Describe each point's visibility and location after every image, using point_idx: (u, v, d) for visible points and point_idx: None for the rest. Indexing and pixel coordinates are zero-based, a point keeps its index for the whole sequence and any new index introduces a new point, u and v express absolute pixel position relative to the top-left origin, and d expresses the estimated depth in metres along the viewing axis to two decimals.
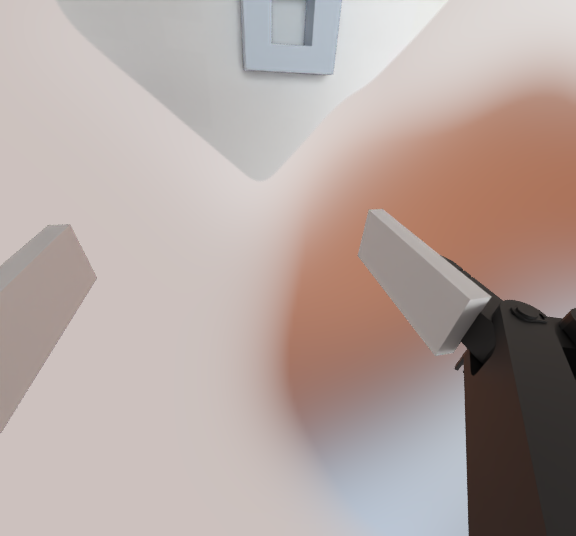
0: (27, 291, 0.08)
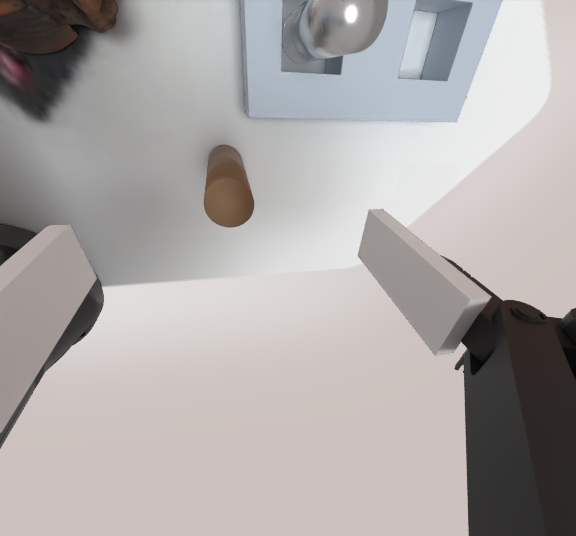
0: (27, 291, 0.08)
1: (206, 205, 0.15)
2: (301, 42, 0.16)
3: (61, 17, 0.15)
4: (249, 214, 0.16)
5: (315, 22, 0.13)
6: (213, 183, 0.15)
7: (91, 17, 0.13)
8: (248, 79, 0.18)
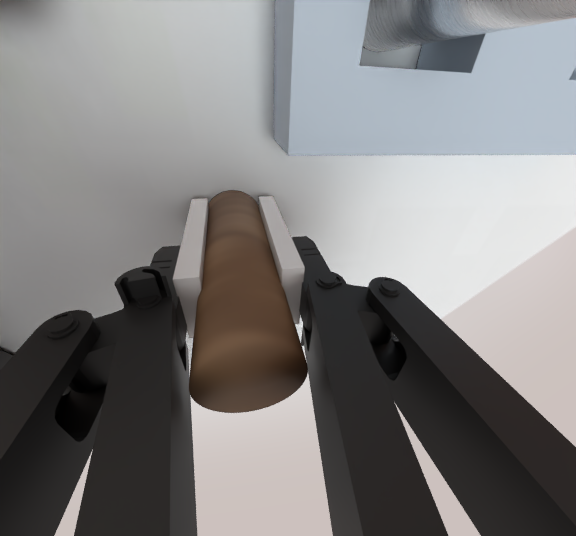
0: None
1: (195, 391, 0.06)
2: None
3: None
4: (294, 388, 0.07)
5: None
6: (212, 348, 0.06)
7: None
8: (292, 82, 0.08)
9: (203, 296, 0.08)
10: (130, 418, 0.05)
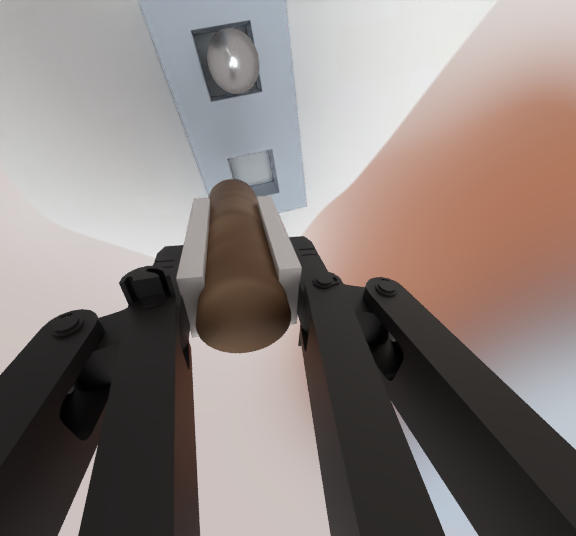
0: None
1: (200, 328, 0.08)
2: None
3: None
4: (281, 332, 0.09)
5: None
6: (214, 290, 0.07)
7: None
8: None
9: None
10: (134, 417, 0.05)
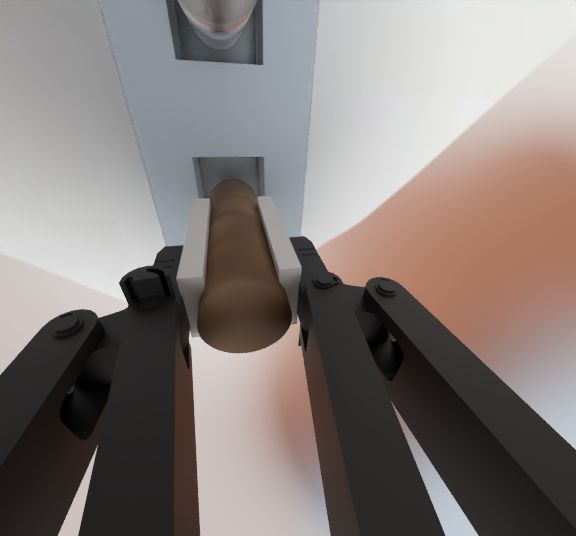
0: None
1: (202, 329, 0.08)
2: None
3: None
4: (282, 331, 0.09)
5: None
6: (215, 291, 0.08)
7: None
8: None
9: (207, 260, 0.09)
10: (134, 417, 0.05)
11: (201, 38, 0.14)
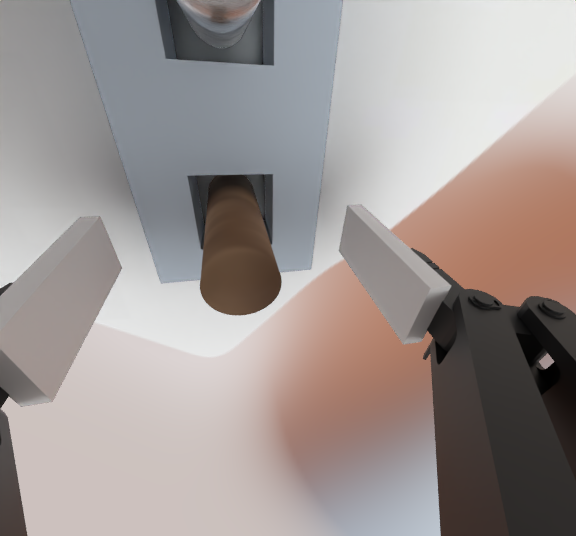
0: (69, 275, 0.08)
1: (204, 290, 0.09)
2: None
3: None
4: (273, 296, 0.10)
5: None
6: (215, 257, 0.09)
7: None
8: None
9: (208, 235, 0.11)
10: None
11: (198, 33, 0.11)
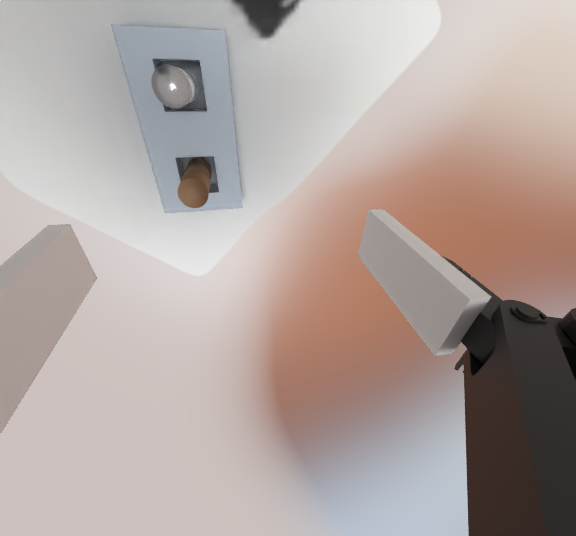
0: (27, 291, 0.08)
1: (179, 195, 0.26)
2: None
3: None
4: (206, 199, 0.27)
5: None
6: (182, 181, 0.26)
7: None
8: (138, 26, 0.23)
9: (182, 178, 0.28)
10: None
11: None
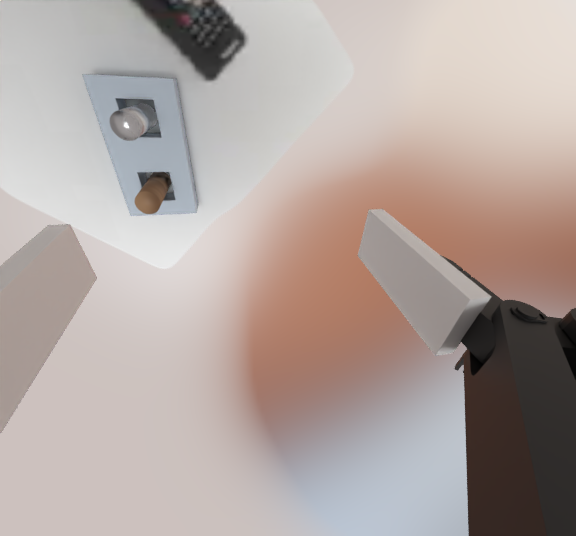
0: (27, 291, 0.08)
1: (136, 204, 0.34)
2: None
3: None
4: (158, 207, 0.35)
5: (122, 109, 0.29)
6: (138, 194, 0.33)
7: None
8: (103, 75, 0.31)
9: (140, 190, 0.35)
10: None
11: None
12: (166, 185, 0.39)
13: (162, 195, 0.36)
